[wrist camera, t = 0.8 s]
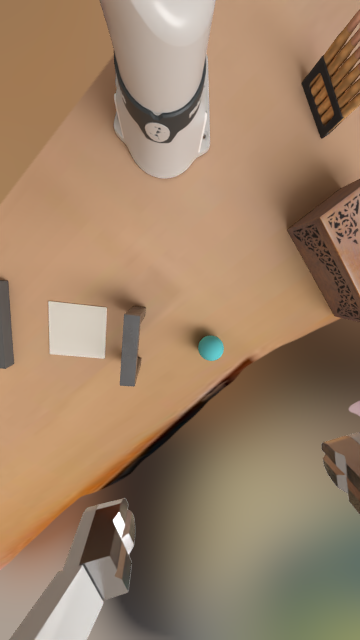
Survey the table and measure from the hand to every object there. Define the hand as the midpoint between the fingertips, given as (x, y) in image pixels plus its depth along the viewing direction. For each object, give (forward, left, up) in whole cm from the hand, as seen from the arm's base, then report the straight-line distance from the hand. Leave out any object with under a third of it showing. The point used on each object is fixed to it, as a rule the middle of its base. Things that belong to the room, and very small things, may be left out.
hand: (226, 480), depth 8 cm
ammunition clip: (-44, +23, -40) cm, 64 cm away
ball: (+8, +9, -37) cm, 39 cm away
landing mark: (+8, -23, -40) cm, 46 cm away
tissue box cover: (-17, +37, -40) cm, 57 cm away
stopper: (+8, -39, -40) cm, 56 cm away
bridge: (+8, -9, -40) cm, 41 cm away
